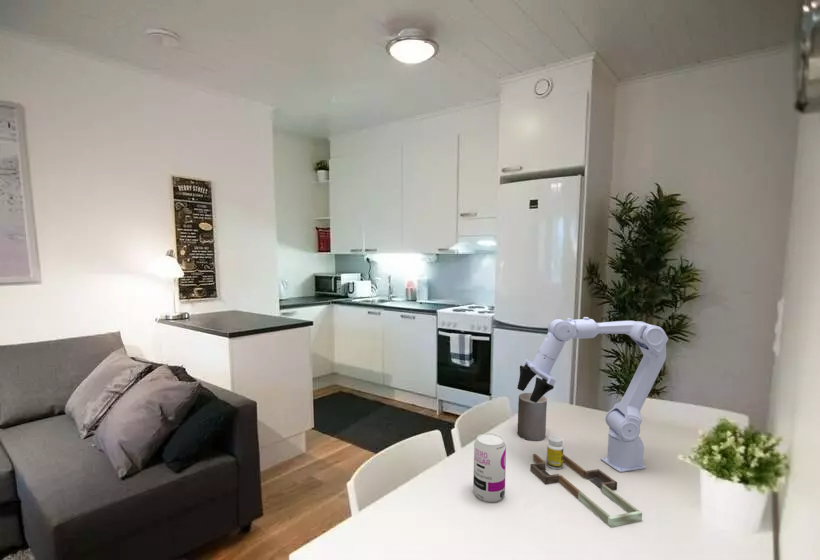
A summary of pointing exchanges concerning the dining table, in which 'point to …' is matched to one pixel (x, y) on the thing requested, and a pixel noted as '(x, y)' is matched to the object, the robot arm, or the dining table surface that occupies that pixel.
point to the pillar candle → (531, 418)
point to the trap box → (600, 481)
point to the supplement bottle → (555, 452)
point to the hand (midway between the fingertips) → (526, 395)
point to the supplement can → (489, 467)
